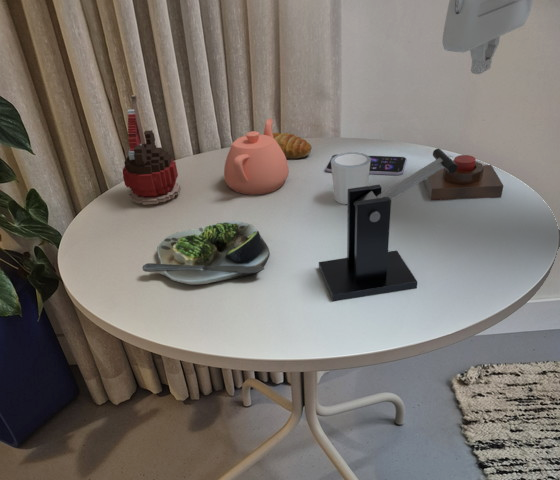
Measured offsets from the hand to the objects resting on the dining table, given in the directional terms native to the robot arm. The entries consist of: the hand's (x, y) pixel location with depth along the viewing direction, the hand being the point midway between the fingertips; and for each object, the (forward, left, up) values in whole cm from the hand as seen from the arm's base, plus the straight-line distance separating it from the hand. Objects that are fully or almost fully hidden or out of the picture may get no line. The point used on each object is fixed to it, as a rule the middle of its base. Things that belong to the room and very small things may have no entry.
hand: (480, 71), depth 89 cm
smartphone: (+21, 0, -20) cm, 29 cm away
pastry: (+39, +3, -20) cm, 44 cm away
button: (+1, -1, -16) cm, 16 cm away
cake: (+46, +33, -20) cm, 60 cm away
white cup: (+15, +13, -20) cm, 28 cm away
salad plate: (+19, +42, -20) cm, 50 cm away
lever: (-6, +29, -7) cm, 30 cm away
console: (+1, -1, -20) cm, 20 cm away
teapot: (+34, +17, -20) cm, 43 cm away
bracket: (-3, +33, -20) cm, 38 cm away
